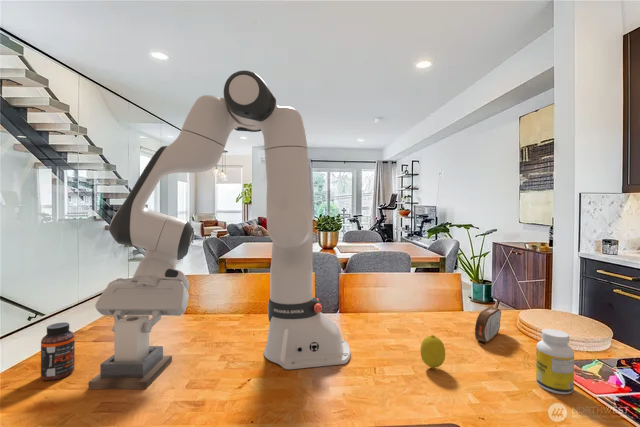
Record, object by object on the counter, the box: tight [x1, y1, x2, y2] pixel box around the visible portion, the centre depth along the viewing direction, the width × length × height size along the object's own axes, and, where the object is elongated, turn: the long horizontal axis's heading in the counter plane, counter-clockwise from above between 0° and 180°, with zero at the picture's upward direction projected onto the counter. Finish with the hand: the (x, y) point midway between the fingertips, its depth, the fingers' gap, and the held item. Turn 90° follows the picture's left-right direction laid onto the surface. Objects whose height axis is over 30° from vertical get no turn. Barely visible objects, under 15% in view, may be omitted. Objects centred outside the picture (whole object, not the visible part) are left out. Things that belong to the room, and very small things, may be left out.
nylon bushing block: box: [113, 315, 150, 362], centre depth 73 cm, size 5×5×10 cm
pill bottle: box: [535, 328, 575, 395], centre depth 68 cm, size 6×6×12 cm
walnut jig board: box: [87, 355, 173, 390], centre depth 73 cm, size 12×12×2 cm
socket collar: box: [99, 345, 164, 378], centre depth 73 cm, size 9×9×3 cm
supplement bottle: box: [40, 321, 76, 381], centre depth 73 cm, size 6×6×11 cm
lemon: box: [419, 334, 446, 370], centre depth 76 cm, size 6×6×8 cm
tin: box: [474, 305, 502, 343], centre depth 94 cm, size 15×3×8 cm, turn 135°
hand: (131, 331), depth 72 cm, fingers closed on nylon bushing block, 5 cm apart
